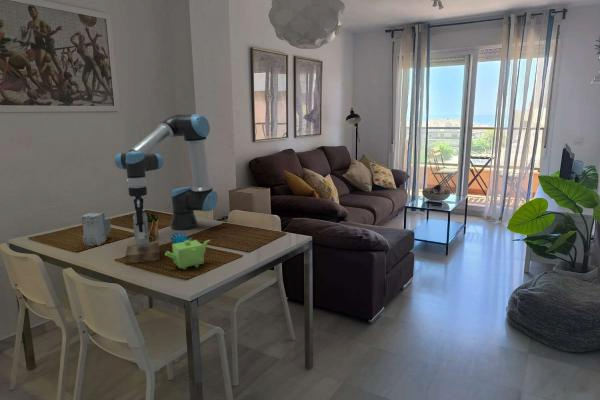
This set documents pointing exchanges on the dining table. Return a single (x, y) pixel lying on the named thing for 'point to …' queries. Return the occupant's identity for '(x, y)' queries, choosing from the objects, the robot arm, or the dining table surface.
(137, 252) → the stand
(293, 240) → the dining table surface
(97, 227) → the circuit breaker
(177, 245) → the kettle
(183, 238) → the gear
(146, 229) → the energy drink can
